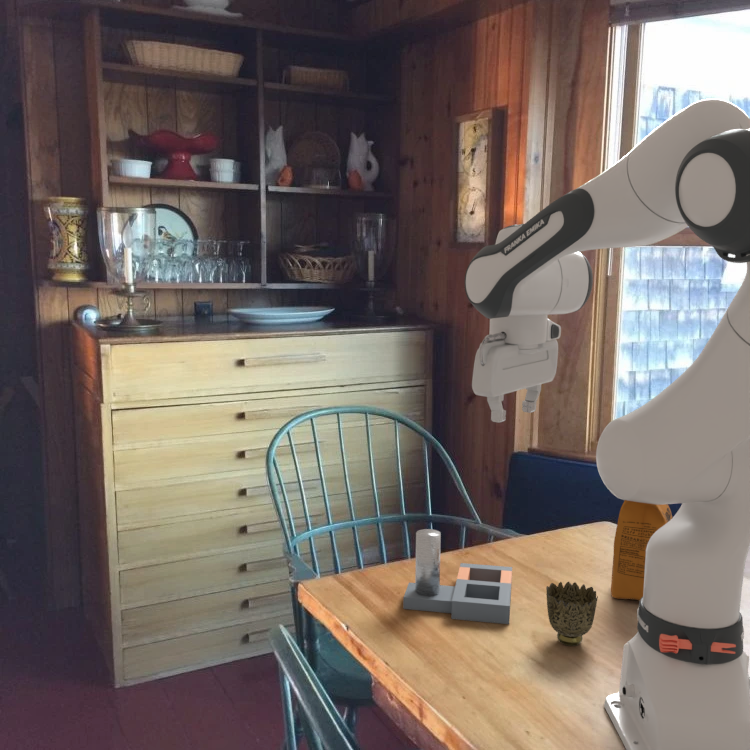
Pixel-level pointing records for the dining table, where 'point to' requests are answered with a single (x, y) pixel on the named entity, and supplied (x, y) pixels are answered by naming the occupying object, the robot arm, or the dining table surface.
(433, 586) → the peg
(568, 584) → the cup
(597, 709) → the dining table surface
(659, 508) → the coffee package
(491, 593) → the rack
